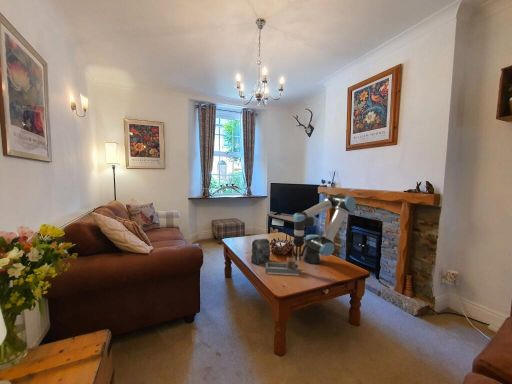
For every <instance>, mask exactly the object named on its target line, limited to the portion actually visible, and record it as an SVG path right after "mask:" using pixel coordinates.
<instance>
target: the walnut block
mask: <svg viewBox="0 0 512 384" xmlns="http://www.w3.org/2000/svg"><path fill="white" fill-rule="evenodd" d="M286 263H287V269H295V264H296V260H295V257H286Z"/></svg>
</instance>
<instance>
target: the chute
mask: <svg viewBox="0 0 512 384" xmlns="http://www.w3.org/2000/svg"><path fill="white" fill-rule="evenodd" d="M265 274H266V275H267V274H269V275H282V276H283V275H284V276H285V275H286V276H300V269H299V265H297V263H295V269H287V262H272V261H271V262H270V261H269V262H268V261H266V262H265Z"/></svg>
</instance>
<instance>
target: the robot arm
mask: <svg viewBox="0 0 512 384" xmlns="http://www.w3.org/2000/svg"><path fill="white" fill-rule="evenodd" d="M356 204H357V203H356V200H355V198H354V197H352V196H351V195H343V194H334V195H330V196H328V197H327V198H325V199H323V201H321V202H319V203H317V204H315V205H313V206H311V207H310V208H308V209H306V210H303V211H302V212H295V213H294V214H293V218H292V219H293V220H294V225H293V226H294V230H293V234H294V235H293V241H292V242H290V243H289V245H290V246H291V249H292V251H291V252H292V255H293V256H294V258H295V262H296V264H297V265H298V266H299V265H300V261H301V259H302V261H303V262H304V263H306V264H310V265H318V264H320V263H321V257H320V255H321V256H324V257H329V256H331V255H332V254H334V253H335V245H334V244H335V241H334V240H335V237H336V235H337V233H338V231H339V230H340V228H341V226H342V223H343V221H344V219H345V216H346V215H348V214H349V213H350V212H351V211H353V210H355V208H356ZM333 208H335V210H334V213H333V215H332V217H331V219H330V221H329V223H328V225H327V227H326V230H325V231H324V233H323V235H319V234H307V235H305V227H306V228H307V227H315V226H317V225H318V223H319V222H318V221H319V220H318V217H316V216H317V215H318V214H320V213H322V212H324V211H326V210H330V209H333ZM294 246H295V249H294ZM302 246H303V248H302ZM301 257H302V258H301Z"/></svg>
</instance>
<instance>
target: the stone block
mask: <svg viewBox="0 0 512 384" xmlns="http://www.w3.org/2000/svg"><path fill="white" fill-rule="evenodd" d="M270 244H271V243H270V240H269V239H268V238H256V239H254V240H252V242H251V257H250V259H251V264H254V265H255V264H256V265H261V264H264V263H266V262H268V261H270V258H271V249H270V248H271V245H270Z"/></svg>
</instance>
